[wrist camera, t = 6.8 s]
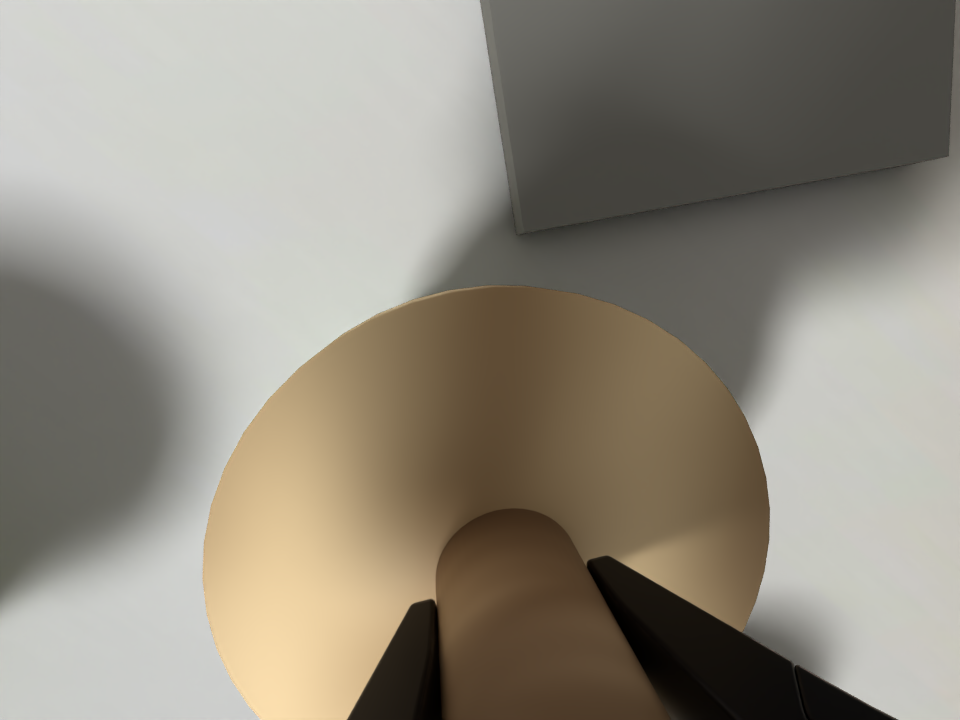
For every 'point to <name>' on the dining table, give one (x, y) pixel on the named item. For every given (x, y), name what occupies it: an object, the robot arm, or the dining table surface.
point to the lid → (481, 507)
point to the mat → (709, 98)
